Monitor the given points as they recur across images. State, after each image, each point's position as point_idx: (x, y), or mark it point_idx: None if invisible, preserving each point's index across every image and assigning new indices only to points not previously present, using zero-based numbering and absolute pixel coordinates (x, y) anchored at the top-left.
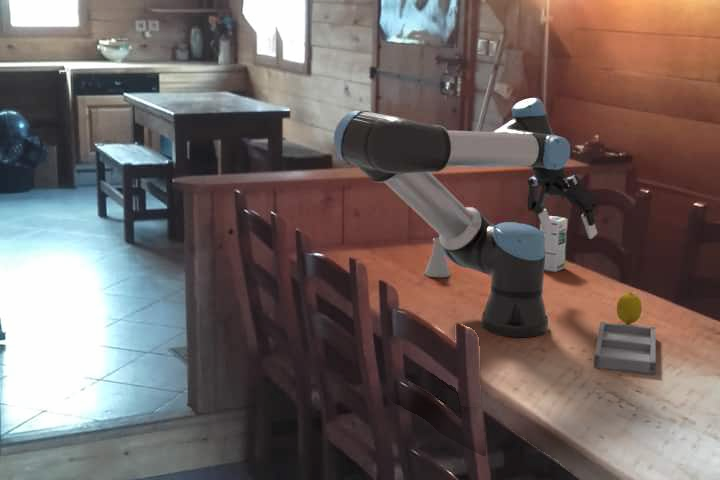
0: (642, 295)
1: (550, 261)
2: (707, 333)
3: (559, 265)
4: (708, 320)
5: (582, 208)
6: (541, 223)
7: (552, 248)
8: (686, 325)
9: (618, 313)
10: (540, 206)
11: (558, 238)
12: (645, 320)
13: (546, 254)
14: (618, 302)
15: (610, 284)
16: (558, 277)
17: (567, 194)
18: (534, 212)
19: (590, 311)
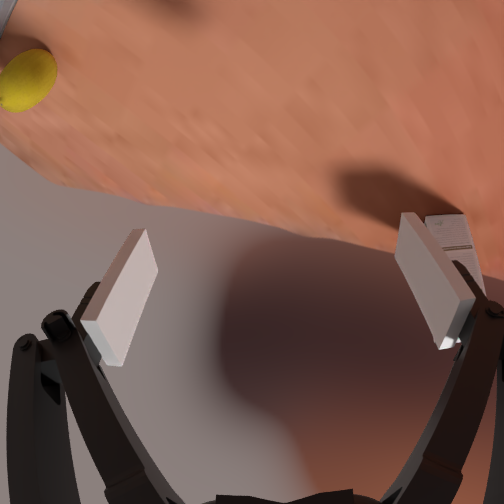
0: (203, 205)
1: (443, 232)
2: (9, 144)
3: None
4: (58, 184)
5: (57, 363)
6: (444, 255)
7: None
8: (39, 145)
9: (31, 50)
10: (464, 355)
11: None
12: (68, 106)
13: (456, 244)
14: (22, 66)
15: (293, 217)
16: (405, 193)
17: (107, 488)
18: (499, 304)
19: (154, 43)
